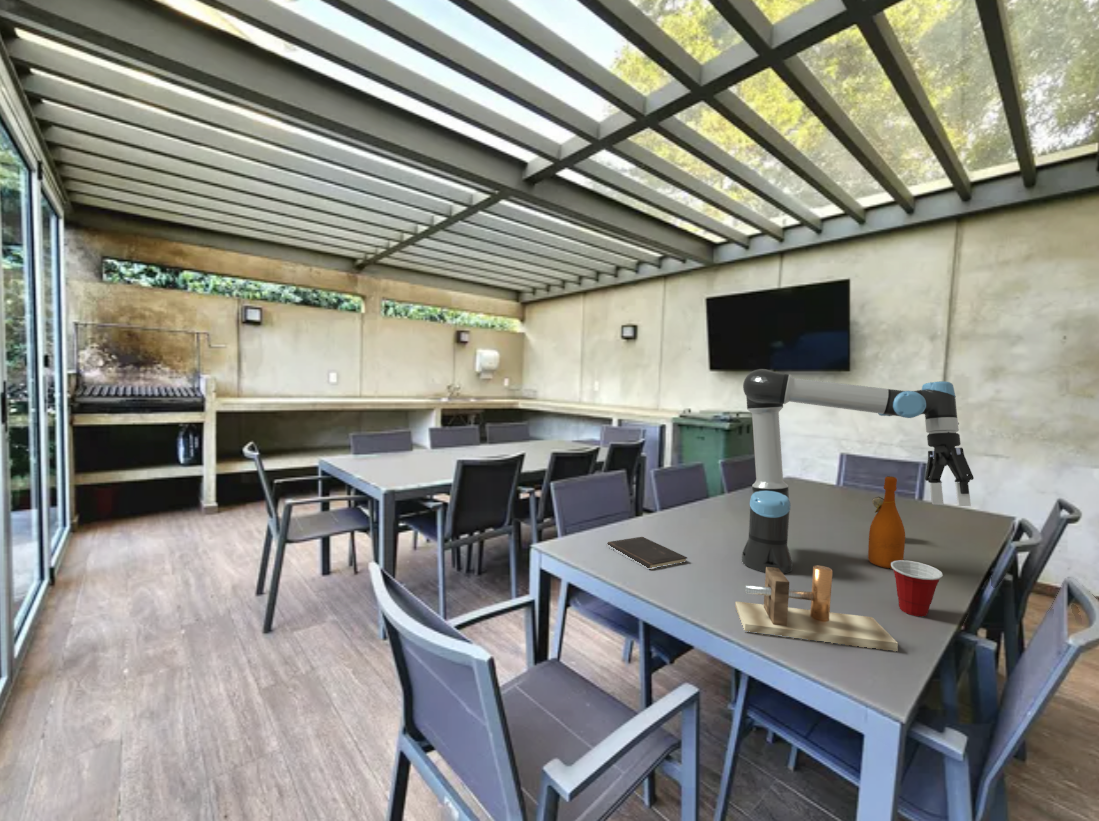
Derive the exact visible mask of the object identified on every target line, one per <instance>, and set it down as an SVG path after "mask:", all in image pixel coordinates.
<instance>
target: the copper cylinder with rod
mask: <svg viewBox="0 0 1099 821" xmlns="http://www.w3.org/2000/svg"><path fill="white" fill-rule="evenodd" d="M811 582H812V583H811V591H807V590H798V589H797V590H796V589H790V588H789V599H792V600H794V599H795V600H804V601H809V602H810V609H809V610H810V616H811V617H812V618H813V619H815V620H818V621H822V622H827V621H829V616H830V612H831V601H832V600H831V598H832V597H831V596H832V584H833V583H832V582H833V569H832V568H830V567H827V566H824V565H818V564H817V565H813V566H812V581H811ZM771 590H772V588H771V587H765V586H763V585H762V586H761V585H751V584H745V585H744V591H745V592H744V593H745V594H747V595H748V594H750V595H757V596H758V595H760V596H764V595H766V596H771Z"/></svg>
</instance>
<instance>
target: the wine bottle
mask: <svg viewBox="0 0 1099 821" xmlns="http://www.w3.org/2000/svg"><path fill="white" fill-rule="evenodd" d="M897 483H898V478H897V477H895V476H890V475H889V476H888V475H887V476H885V478H884V485H883V489H884V490H885V492H884V498H883V499H884V501H883V503H882V504H881V503H880V504H881V505H879V506H878V507H877V508H876V509H875V511H874V513H875V515H874V517H873V519H872V521H871V523H870V526H869V532H868V545H867V546H868V549H867V550H868V551H867V552H868V553H867V556H868V557H867V558H868V561H869V562H870V563H871V564H872V565H874V566H876V567H880V568H885V569H889V568H890V570H893V568H892V567H891V563H892V562H894V561H899V560H904V556H905V546H906V545H905V543H906V530H905V526H904V523H903V520H902V518H901V516H900V513H899V511H898V509H897V506H896V494H895V492H896V491H897Z"/></svg>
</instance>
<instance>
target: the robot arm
mask: <svg viewBox="0 0 1099 821" xmlns="http://www.w3.org/2000/svg"><path fill="white" fill-rule="evenodd" d="M742 389H743V392H744V395H745V397H746V398H745V399H746V409H747V411H748V412H750V413H751V417H752V430H753V431H752V432H753V433H752V434H753V447H754V450H753V451H754V464H755V467H754V468H755V478H756V479H755V481H754V483H753V484H752V485H751V490H752V492H751V493H752V494H751V495H750V500H749V506H750V507H749V520H748V522H749V523H748V524H749V525H748V538H747V541H746V543H745V546H744V548H743V550H742V553H741V559H740V560H742V561H741V563H742V562H743V563H742V564H743V565H744V564H745V565H744V566H745V567H748V568H750V569H752V570H754V571H758V570H759V572H762V571H763V573H766V567H774V568H779V569H780V570H781V572H782V573H783V574H787V573H790V572H792V570H793V561H792V557H791V553H790V550H789V546H788V539H789V538H788V537H789V523H790V522H789V521H790V511H791V501H790V493H789V492H790V490H789V484H788V483H786V482H785V481H784V474H783V460H782V444H781V442H782V441H781V428H780V414H779V413H780V411H781V410H783V408H784V405H786V404H787V403H789V402H791V403H797V404H806V405H813V406H820V407H828V408H835V409H844V410H851V411H858V412H865V413H874V414H878V415H879V416H881V417H885V416H886V417H894V416H895V417H901V418H906V419H912V418H916V417H918V416H921V415H924V419H925V421H924V422H925V430H926V433H927V435H926V440H927V446H928V447H931V448H933V450H928V451H927V464H926V470H925V476H924V480H925V481H928V483H929V487H930V496H931V497H930V498H931V504H932V505H939V506H940V505H941V506H942V505H945V504H944V494H943V493H944V492H943V486H942V483H943V481H942V480H941V478H942V475H943V473H944V469H945V467H947V466H948V468H949V469H950V471H951V473H952V475H953V476H954V478H955V479H954V484H955V494H956V501H957V502H956V504H957V506H958V507H971V506H972V505H971V504H972V503H971V496H970V486H969V485H970V484H969V483H970V481H973V480H974V479H975V478H974V475H973V472H972V470H971V468H970V465H969V463H968V461H967V459H966V456H965V452H964V448H963V447H959V446H961V435H960V434H959V433H958V432H959V430H960V429H959V426H960V422H959V421H958V420H959V419H958V413H957V400H956V399H957V398H956V397H957V396H956V392H955V388H954V384H953V383H952V382H950V381H946V380H945V381H934V382H932V381H930V382H927V383H923V384H922V386H921V389H918V390H900V389H891V388H890V389H889V388H882V387H873V386H865V385H856V384H847V383H839V382H830V381H824V380H823V381H821V380H813V379H812V380H811V379H805V378H804V379H803V378H795V377H793V375H792V374H788V373H781V372H776V371H773V370H770V369H765V368H759V369H754V370H753V371H751V372H749V374H747V375H746V376H745V379H744V381H743V384H742Z"/></svg>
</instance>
